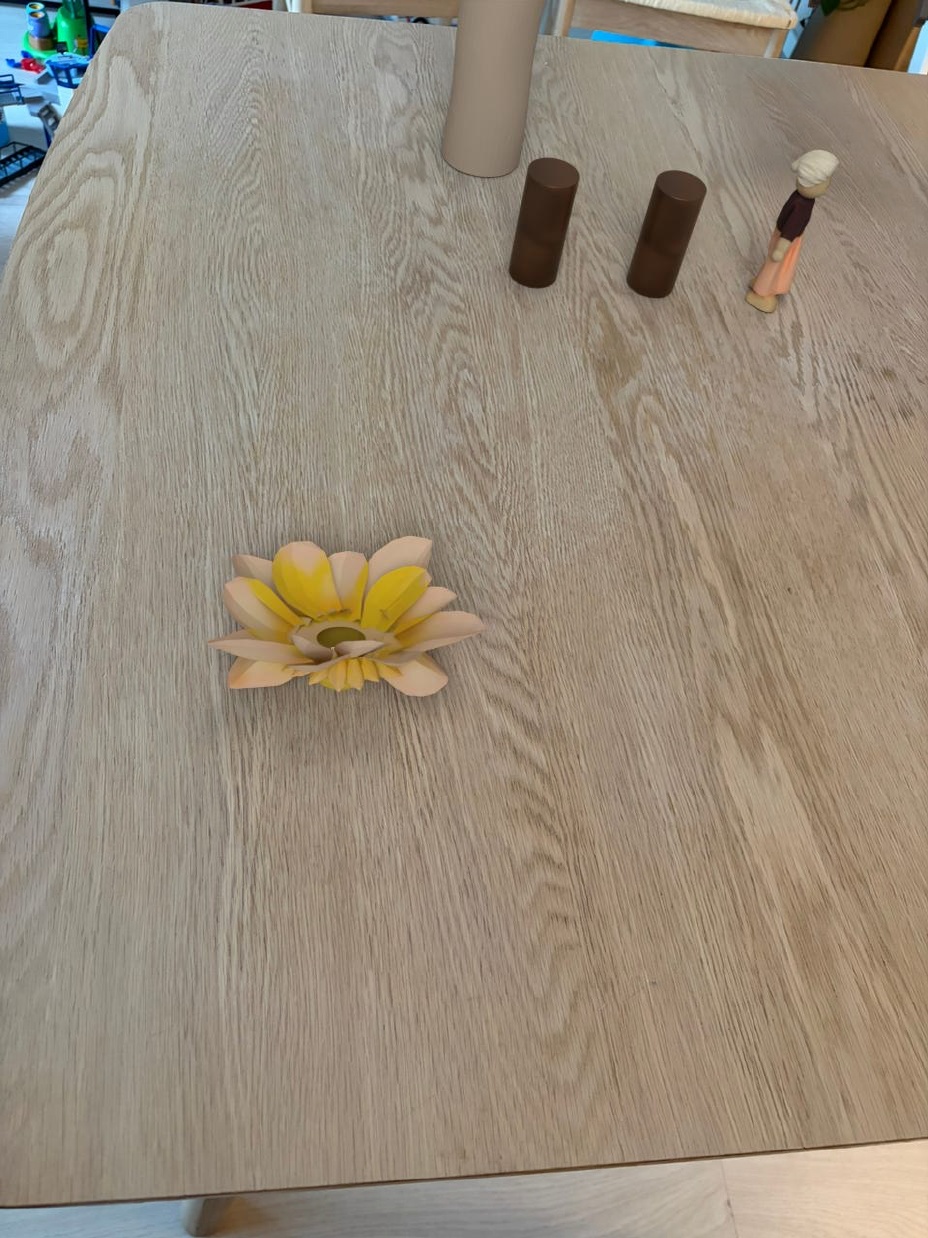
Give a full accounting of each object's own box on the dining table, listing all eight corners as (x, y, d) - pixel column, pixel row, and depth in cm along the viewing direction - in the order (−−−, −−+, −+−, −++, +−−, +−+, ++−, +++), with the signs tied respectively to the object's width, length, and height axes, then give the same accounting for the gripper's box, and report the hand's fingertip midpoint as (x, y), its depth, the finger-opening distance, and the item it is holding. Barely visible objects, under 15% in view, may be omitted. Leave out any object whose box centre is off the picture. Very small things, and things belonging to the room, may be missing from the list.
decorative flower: (483, 553, 65) (494, 474, 55) (478, 727, 60) (490, 673, 51) (243, 542, 64) (214, 460, 55) (222, 716, 60) (187, 659, 51)
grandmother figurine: (787, 324, 85) (853, 184, 75) (741, 314, 85) (801, 173, 75) (785, 269, 90) (847, 129, 79) (742, 260, 90) (798, 119, 79)
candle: (531, 105, 100) (574, -134, 84) (514, 184, 92) (558, -64, 76) (458, 91, 100) (487, -152, 84) (435, 168, 92) (462, -84, 76)
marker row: (669, 269, 87) (702, 172, 80) (676, 299, 85) (711, 202, 78) (507, 255, 86) (525, 154, 78) (510, 286, 83) (529, 184, 76)
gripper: (851, -264, 75) (785, -11, 81) (1048, -232, 74) (967, 22, 80) (831, -220, 82) (772, 10, 88) (1012, -190, 81) (940, 40, 87)
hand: (865, 15), depth 84 cm, fingers open, 8 cm apart
